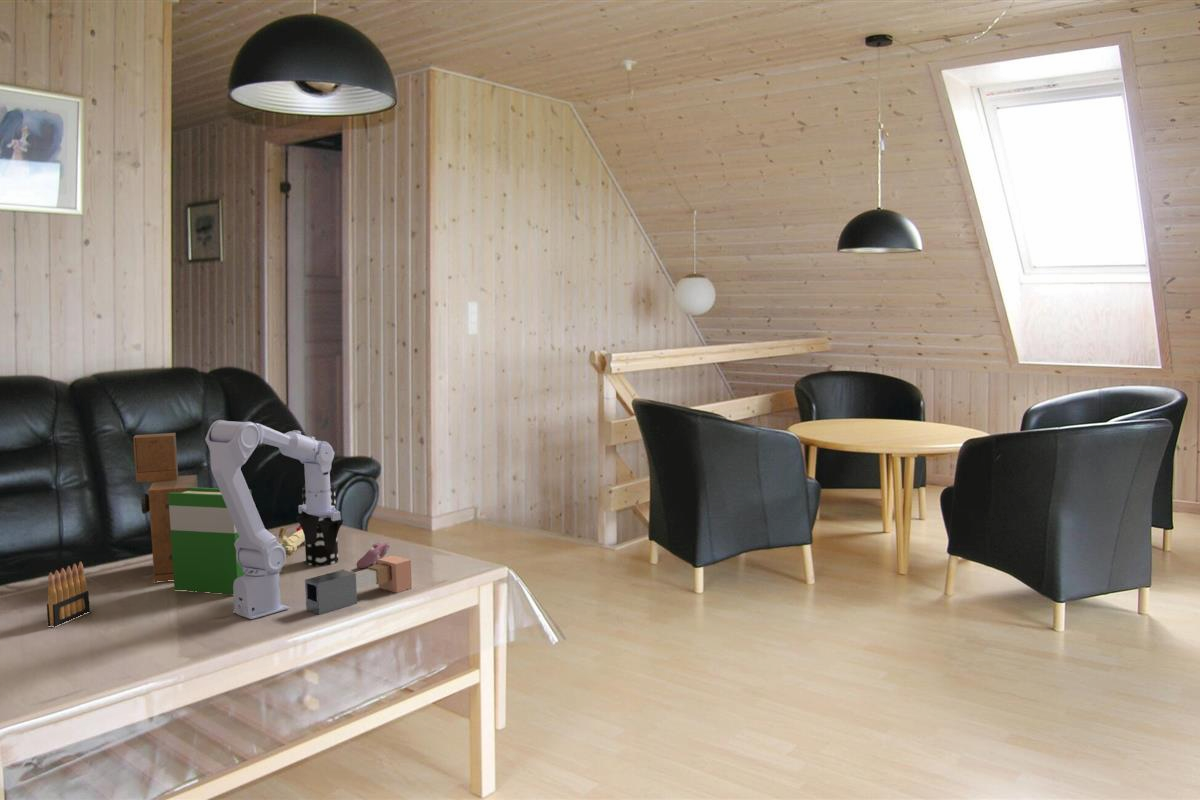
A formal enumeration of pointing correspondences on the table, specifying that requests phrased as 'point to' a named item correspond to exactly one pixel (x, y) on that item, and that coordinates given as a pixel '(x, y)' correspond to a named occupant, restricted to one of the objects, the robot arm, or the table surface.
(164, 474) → the brown stacked box shape
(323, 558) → the white-spotted black cylinder
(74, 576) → the ammunition clip
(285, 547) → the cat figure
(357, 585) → the tube
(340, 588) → the outer sleeve
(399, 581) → the socket block
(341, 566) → the table surface
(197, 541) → the hardback book
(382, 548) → the video game controller
